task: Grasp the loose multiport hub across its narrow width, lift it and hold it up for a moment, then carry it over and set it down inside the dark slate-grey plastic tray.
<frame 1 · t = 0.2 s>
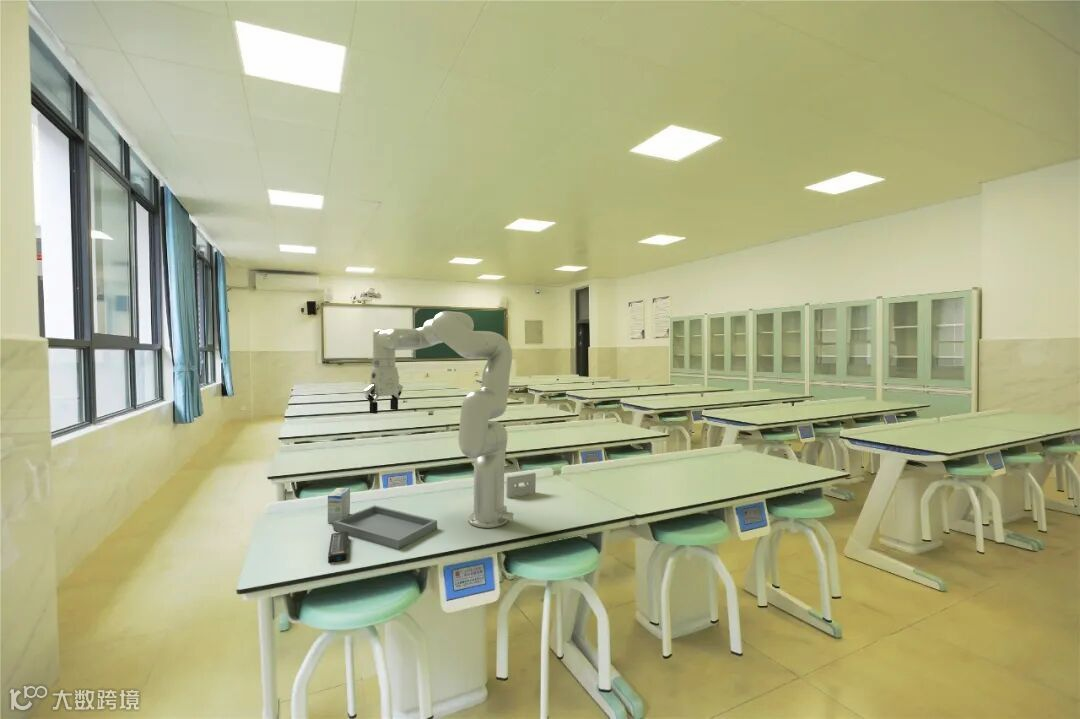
hand: (384, 411, 167), 31 cm above the table, fingers open, 9 cm apart
medicine box: (339, 519, 148), on the table
multiport hub: (338, 551, 127), on the table
cassette: (520, 495, 173), on the table
tray: (385, 529, 140), on the table
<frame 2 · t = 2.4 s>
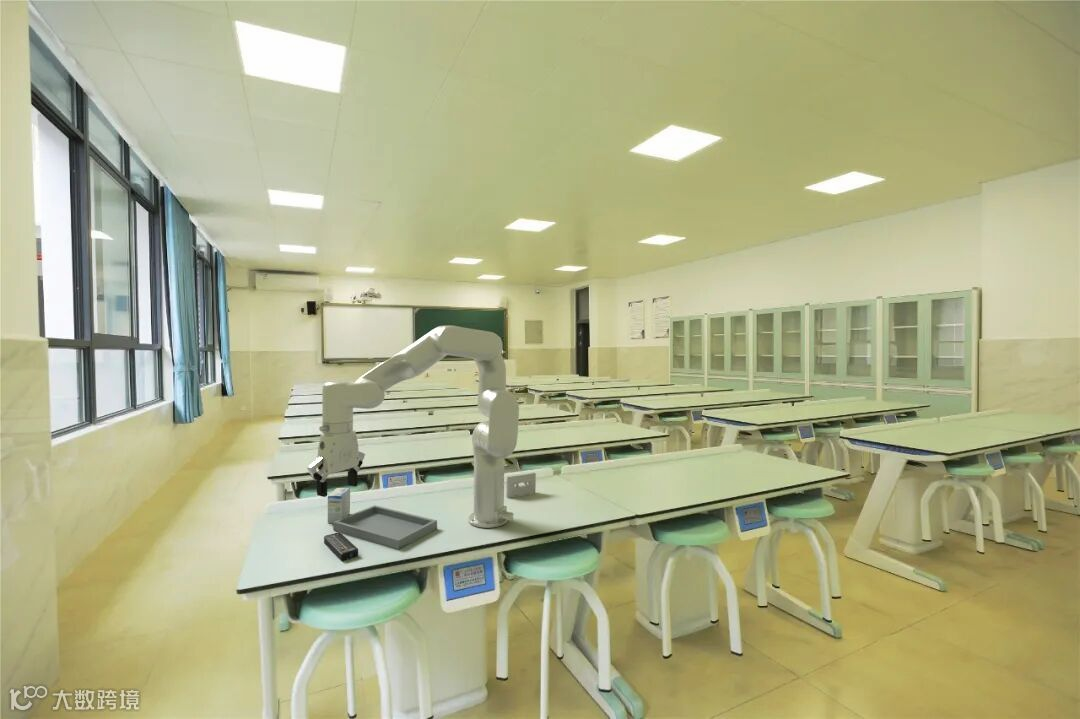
hand: (337, 490, 126), 16 cm above the table, fingers open, 9 cm apart
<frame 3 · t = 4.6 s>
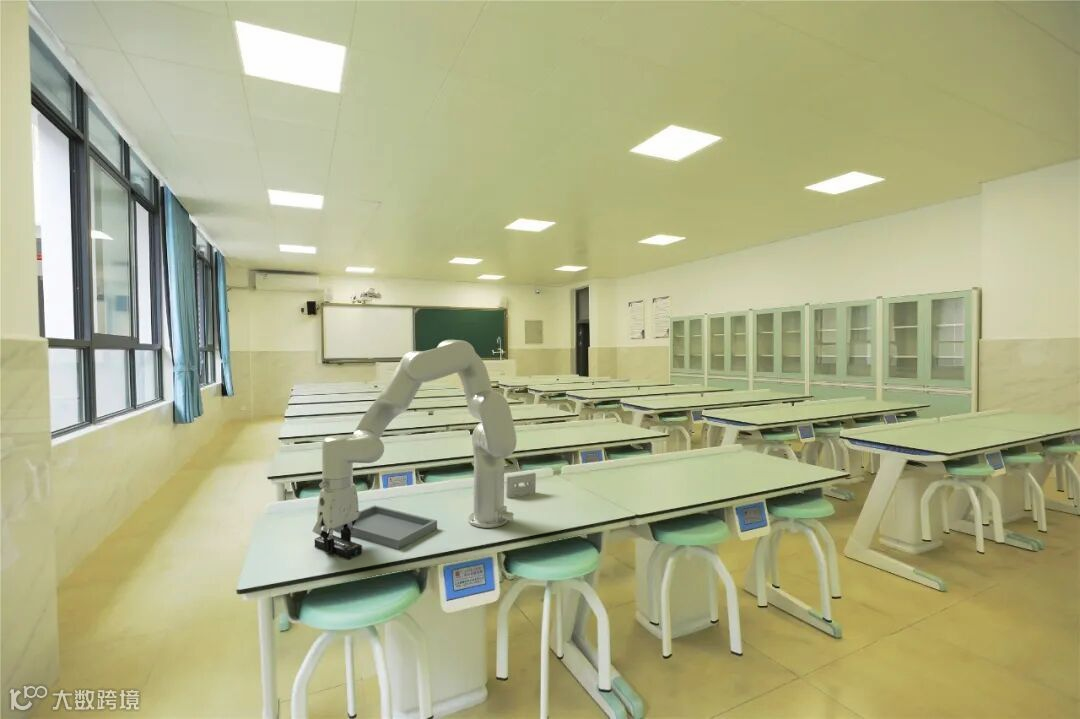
hand: (337, 547, 126), 1 cm above the table, fingers closed on multiport hub, 4 cm apart
multiport hub: (338, 550, 126), on the table, touching gripper
everything else where it was.
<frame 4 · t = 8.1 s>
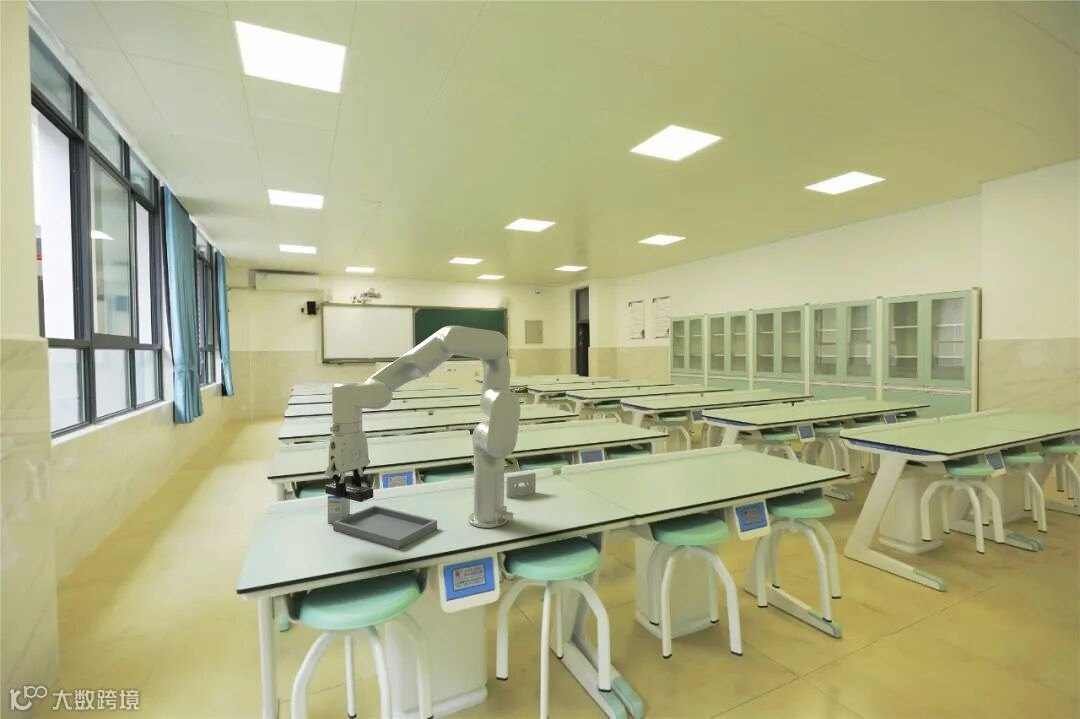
hand: (348, 492, 128), 15 cm above the table, fingers closed on multiport hub, 4 cm apart
multiport hub: (349, 495, 128), point 14 cm above the table, touching gripper
everything else where it was.
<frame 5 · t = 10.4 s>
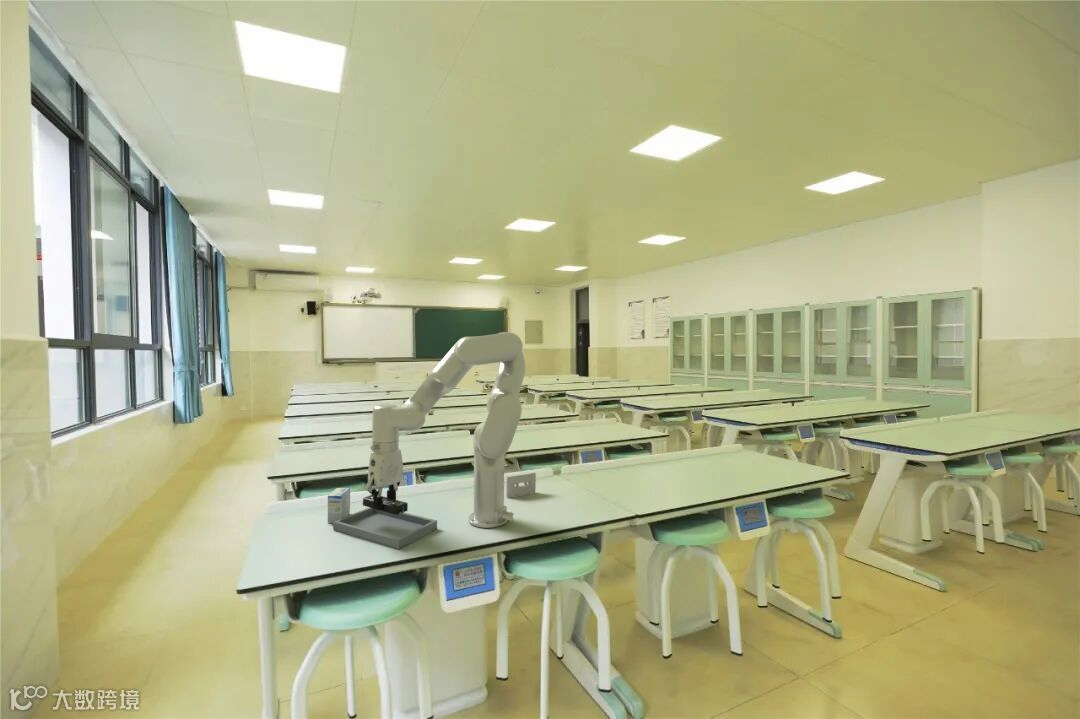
hand: (384, 505, 140), 7 cm above the table, fingers closed on multiport hub, 4 cm apart
multiport hub: (385, 508, 140), point 6 cm above the table, touching gripper
everything else where it was.
when the fingers open (3 cm above the table, at t = 12.0 s): multiport hub drops 2 cm, resting on tray.
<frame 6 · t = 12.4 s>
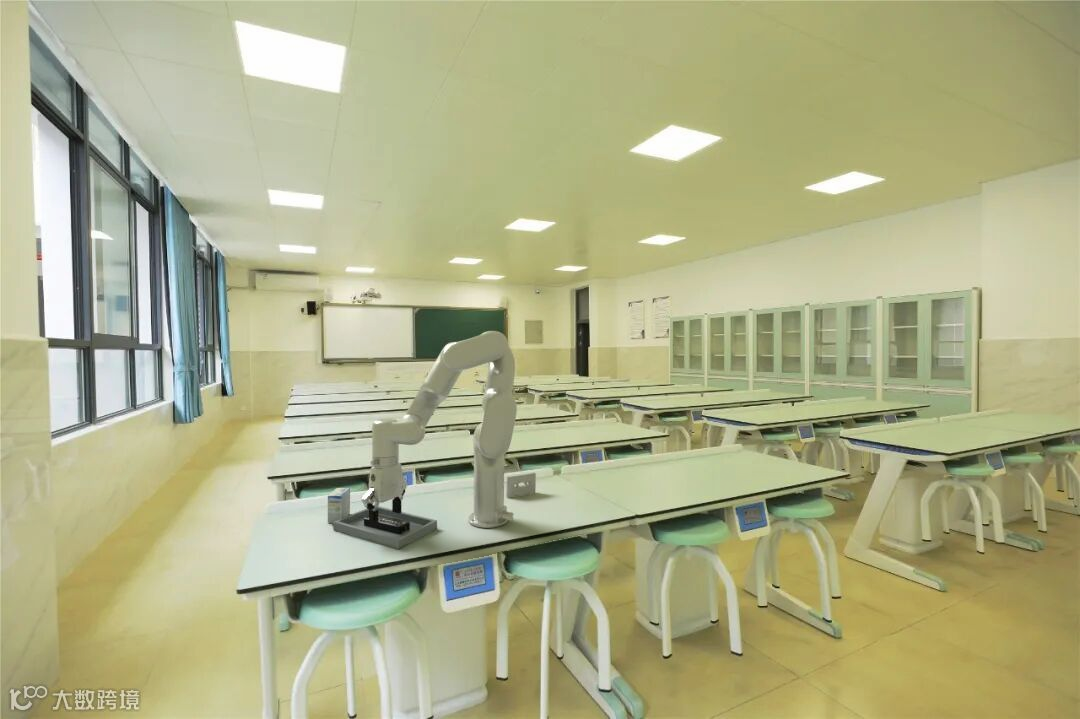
hand: (385, 517, 140), 4 cm above the table, fingers open, 8 cm apart
multiport hub: (386, 528, 140), resting on tray
everything else where it was.
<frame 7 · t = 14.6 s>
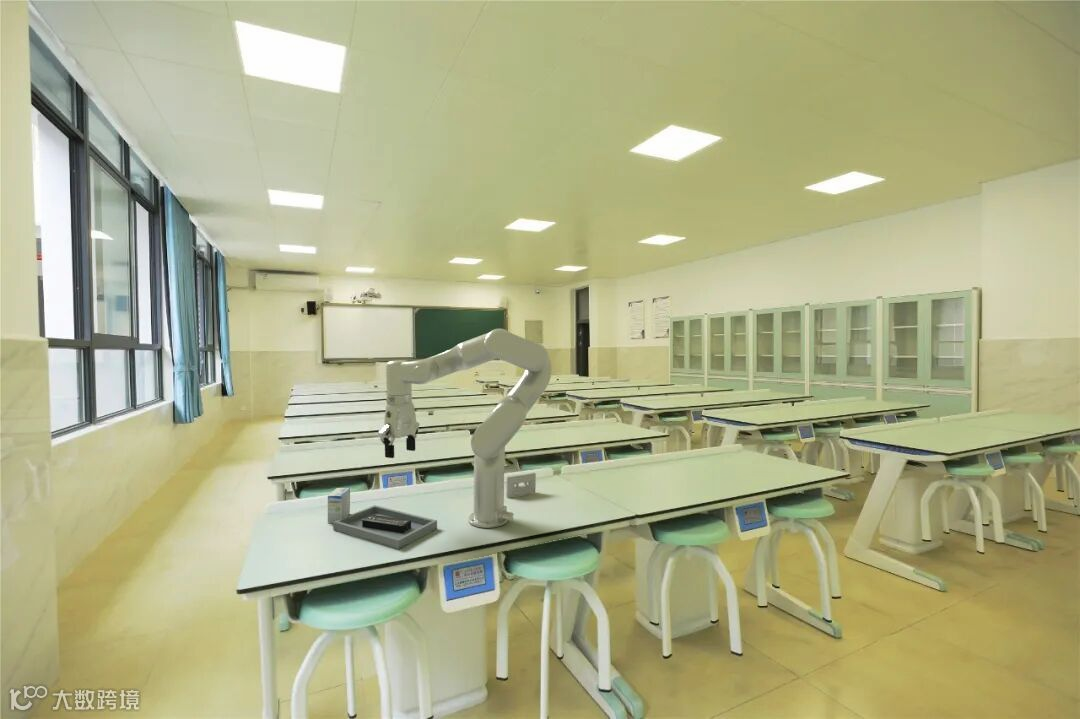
hand: (400, 453, 147), 21 cm above the table, fingers open, 9 cm apart
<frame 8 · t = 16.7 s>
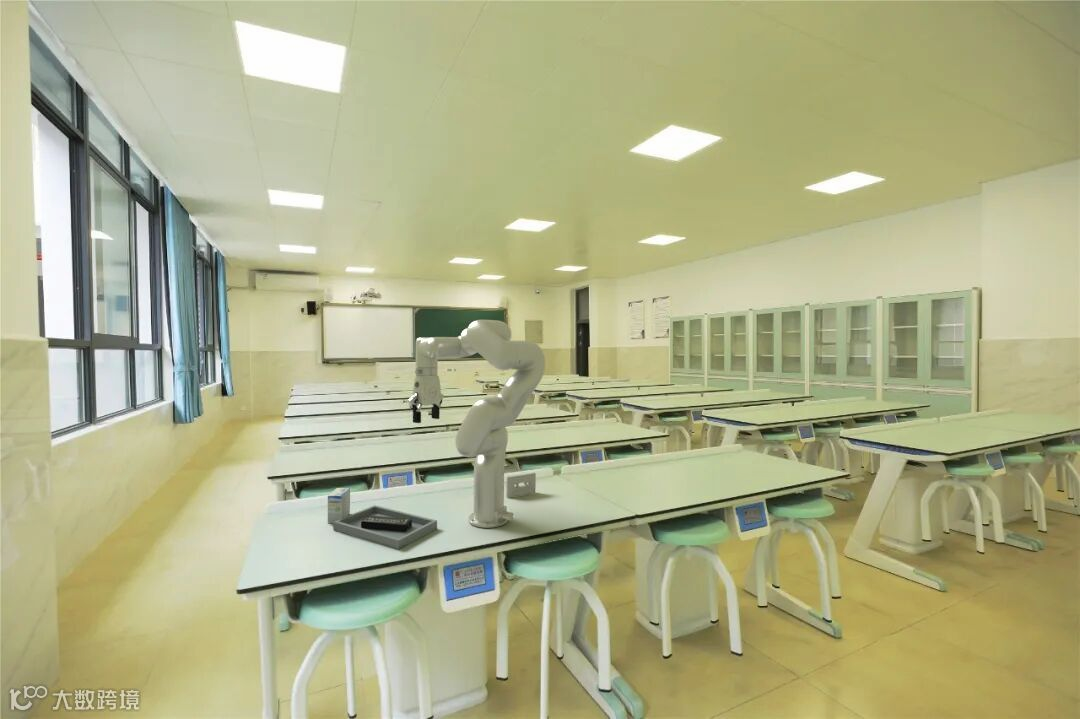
hand: (426, 420, 165), 28 cm above the table, fingers open, 9 cm apart
at the end: multiport hub inside the target area on the tray (0.3 cm from its centre), point 0.4 cm above the tray's base; multiport hub touching tray; the gripper is holding nothing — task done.
